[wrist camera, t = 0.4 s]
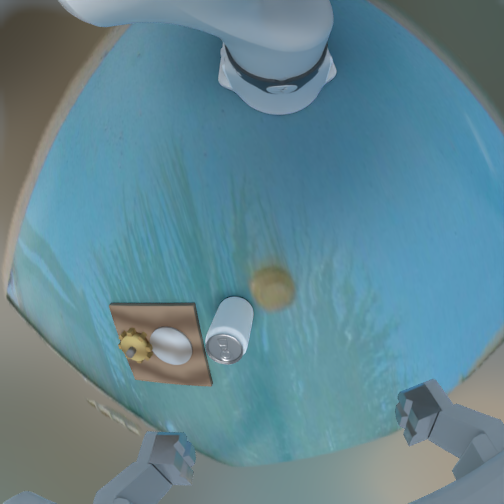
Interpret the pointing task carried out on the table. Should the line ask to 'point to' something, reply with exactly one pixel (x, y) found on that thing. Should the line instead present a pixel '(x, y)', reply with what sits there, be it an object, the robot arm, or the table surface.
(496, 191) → the table surface
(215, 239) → the table surface
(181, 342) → the board
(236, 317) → the can
